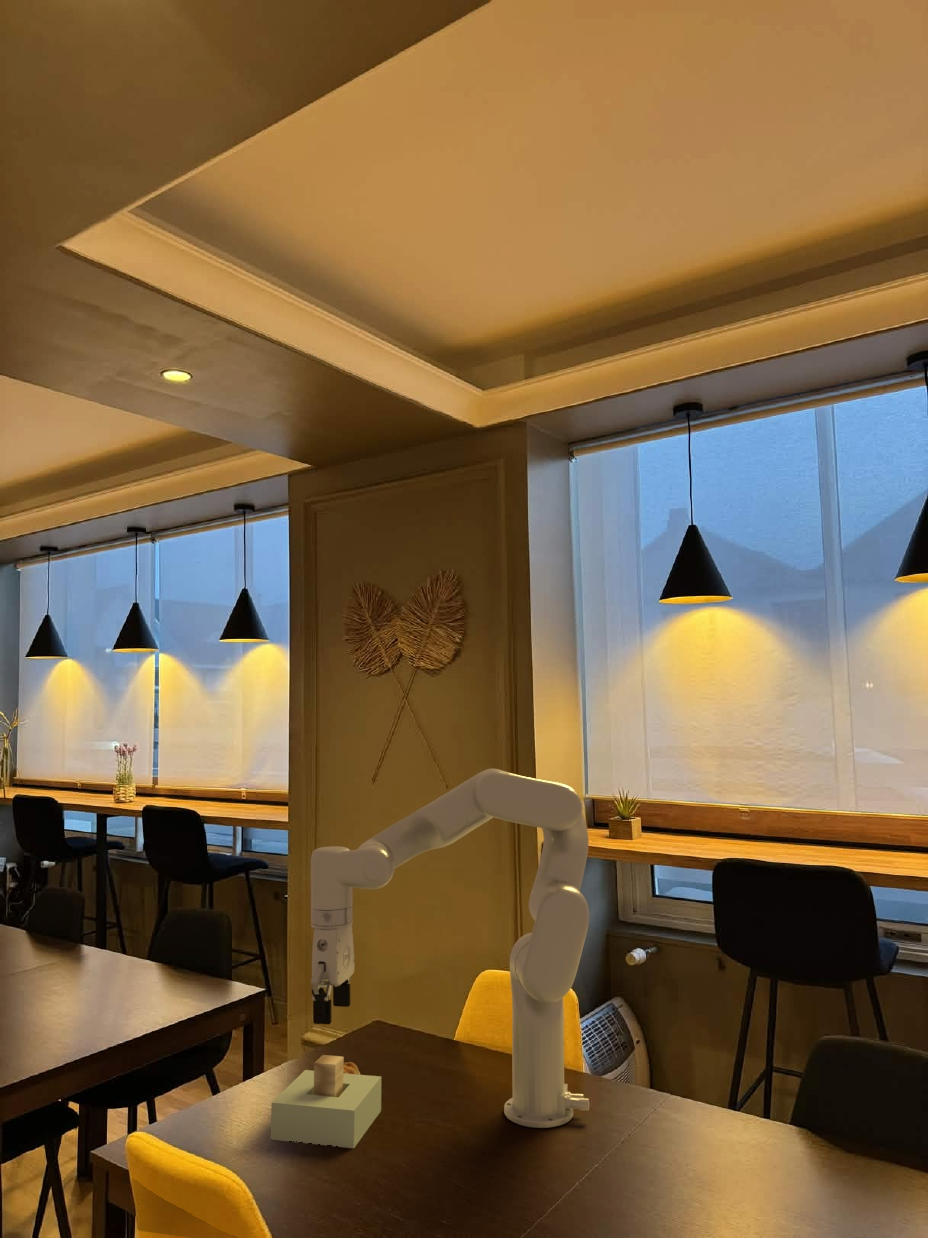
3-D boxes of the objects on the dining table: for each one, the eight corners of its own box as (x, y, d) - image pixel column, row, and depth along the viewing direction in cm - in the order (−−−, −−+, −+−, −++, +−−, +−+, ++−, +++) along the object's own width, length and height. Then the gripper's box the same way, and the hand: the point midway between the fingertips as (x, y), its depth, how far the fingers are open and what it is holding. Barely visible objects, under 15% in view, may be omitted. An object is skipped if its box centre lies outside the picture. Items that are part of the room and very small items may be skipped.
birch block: (342, 1115, 160) (343, 1056, 162) (334, 1125, 157) (335, 1065, 158) (321, 1113, 161) (322, 1055, 163) (313, 1122, 158) (314, 1063, 159)
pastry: (327, 1100, 170) (327, 1079, 170) (305, 1091, 174) (305, 1070, 175) (364, 1085, 177) (364, 1065, 177) (342, 1077, 181) (342, 1057, 182)
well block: (381, 1111, 165) (381, 1076, 165) (353, 1148, 150) (354, 1110, 151) (304, 1103, 168) (305, 1070, 168) (270, 1139, 153) (271, 1102, 154)
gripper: (334, 928, 154) (335, 1032, 152) (366, 907, 171) (367, 1001, 169) (293, 927, 156) (293, 1030, 154) (329, 906, 172) (329, 999, 170)
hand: (332, 1014), depth 161 cm, fingers open, 9 cm apart
